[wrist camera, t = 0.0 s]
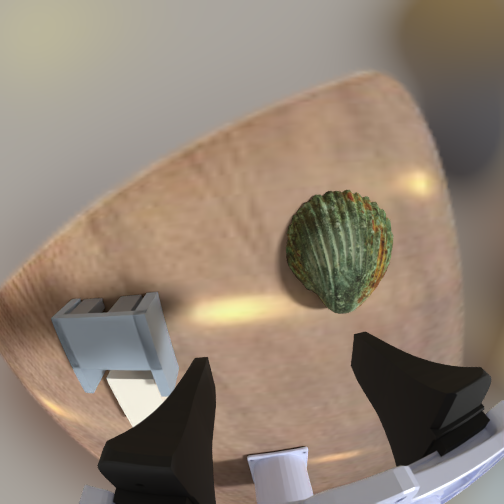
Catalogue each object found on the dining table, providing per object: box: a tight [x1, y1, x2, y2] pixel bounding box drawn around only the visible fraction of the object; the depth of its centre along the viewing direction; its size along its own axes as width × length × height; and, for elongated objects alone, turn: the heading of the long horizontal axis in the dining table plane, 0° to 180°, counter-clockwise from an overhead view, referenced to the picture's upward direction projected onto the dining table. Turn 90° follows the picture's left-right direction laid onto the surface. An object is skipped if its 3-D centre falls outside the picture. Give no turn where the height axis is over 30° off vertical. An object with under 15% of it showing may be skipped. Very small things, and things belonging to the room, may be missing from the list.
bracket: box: [51, 292, 179, 397], centre depth 20 cm, size 8×9×4 cm
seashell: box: [286, 190, 393, 314], centre depth 20 cm, size 10×4×10 cm
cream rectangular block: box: [106, 370, 167, 427], centre depth 23 cm, size 8×5×3 cm, turn 6°
